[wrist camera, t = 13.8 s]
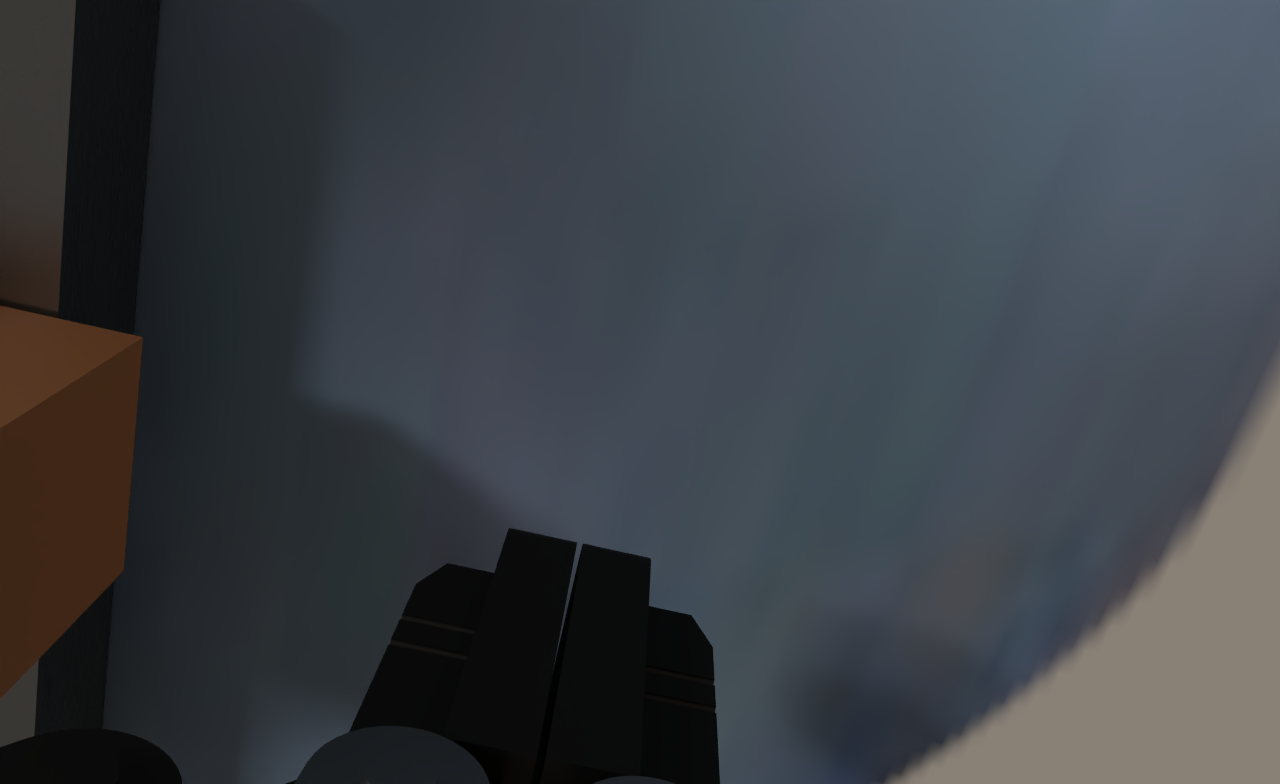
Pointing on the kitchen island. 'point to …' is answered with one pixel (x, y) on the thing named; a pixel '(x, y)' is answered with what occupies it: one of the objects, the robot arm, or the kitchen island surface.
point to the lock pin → (60, 475)
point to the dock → (72, 245)
